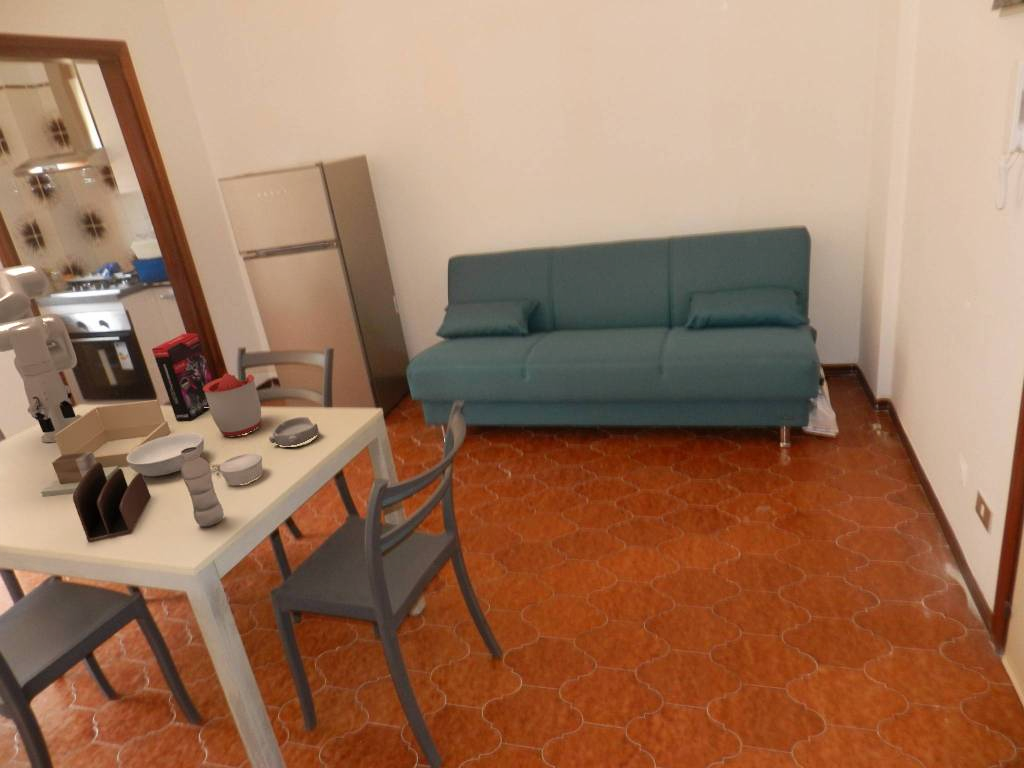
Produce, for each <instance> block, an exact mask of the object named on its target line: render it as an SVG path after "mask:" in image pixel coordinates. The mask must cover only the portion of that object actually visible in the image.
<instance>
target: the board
mask: <svg viewBox="0 0 1024 768" xmlns="http://www.w3.org/2000/svg"><path fill="white" fill-rule="evenodd" d="M119 468H120V467H118V466H115V467H107V468H103V470H104V473H105V476H106V479H107V480H108V479H109V478H110V477H111V476H112V474H113V473H114V472H115V471H117V470H118V469H119ZM79 483H80V482H77V483H68V484H60V482H59V479H58V478H56V479H55V480H54V481H53V482H52V483H51V484H49V485H48V486H46V487H45V488H44V489H42V490H41V491H40V493H41V495H42V497H47V496H46V495H52V496H58V494H61V495H68V493H69V494H74V492H75V490H76V488H77V486H78V485H79Z"/></svg>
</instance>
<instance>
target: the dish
mask: <svg viewBox="0 0 1024 768" xmlns="http://www.w3.org/2000/svg"><path fill="white" fill-rule="evenodd" d="M317 433H318V434H319V427H318V424H317V423H313V422H312V421H311V419H310V418H309V417H307V416H299V417H293V418H290V419H287V420H284V421H283V422H281V423H278V424H277V425H276V426H275V428H273V430H272V435H270V436H269V438H268V439H269V442H270V443H272V444H278V445H282V446H291V445H297V444H300V443H303V442H305V441H307V440H309V439H311V438H313V437H314V436H316V435H317Z"/></svg>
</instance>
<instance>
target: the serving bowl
mask: <svg viewBox="0 0 1024 768" xmlns="http://www.w3.org/2000/svg"><path fill="white" fill-rule="evenodd" d="M189 447H197V448H198V451H199V453H200V456H199V457H201V455H202V454H203V451H204V447H205V443H204V437H203V435H202V434H200V433H197V432H181V433H180V432H179V433H174V434H170V435H169V434H168V435H167V436H165V437H161V438H158V439H155V440H152V441H150V442H147V443H145V444H143V445H141V446H139V447H137V448H135V449H134V450H132V449H131V450H132V451H131V450H130V451H131V452H130V451H129V452H130V453H129V454H128V455H127V458H126V460H127V462H128V464H129V467H130V469H131V470H133V471H134V472H136V473H137V474H138V473H142V475H143V476H146V477H158V476H164V475H171V474H174V473H176V471H177V472H179V471H181V468H182V465H183V463H184V460H183V459H182V455H181V451H182V450H184V449H186V448H189ZM173 472H174V473H173ZM170 473H171V474H170Z"/></svg>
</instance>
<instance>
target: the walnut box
mask: <svg viewBox="0 0 1024 768" xmlns="http://www.w3.org/2000/svg"><path fill="white" fill-rule="evenodd" d="M94 456H95V454H94V452H85V453H76V454H67V455H60V456H59V457H58V458H56V459H55V460H53V461H52V462H51V463H52V464H51V465H52V466H53V468H54V471H55V474H56V476H57V479H59V482H60V484H68V483H77V482H81V480H82V479H83V477H84V476H85V474H86V473H87V472H88V471H89V469H90V468H91V467H92V466H94V465H95V464H96V460H95V457H94Z"/></svg>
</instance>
